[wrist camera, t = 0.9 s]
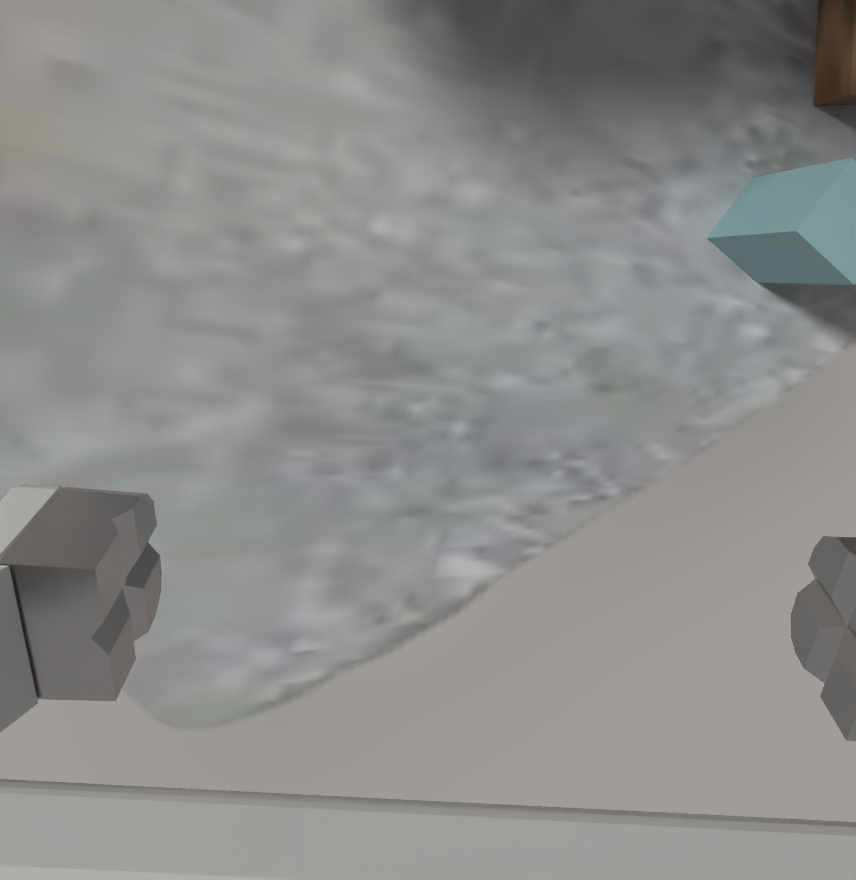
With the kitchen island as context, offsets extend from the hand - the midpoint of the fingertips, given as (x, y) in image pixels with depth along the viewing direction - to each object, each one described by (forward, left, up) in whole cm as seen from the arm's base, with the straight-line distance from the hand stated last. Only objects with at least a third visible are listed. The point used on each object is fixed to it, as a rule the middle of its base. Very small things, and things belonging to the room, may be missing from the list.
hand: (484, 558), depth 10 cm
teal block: (-4, +30, -43) cm, 52 cm away
